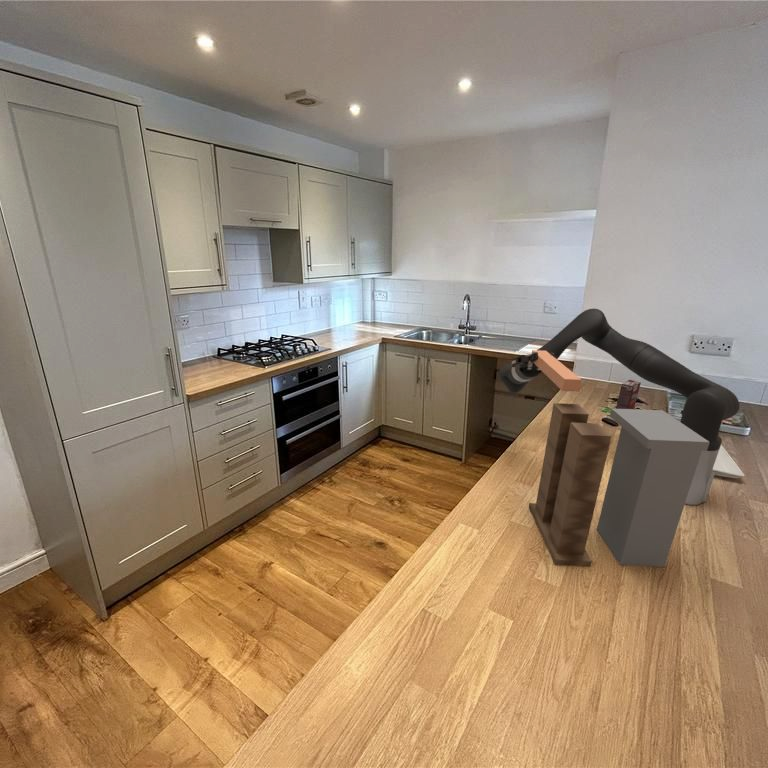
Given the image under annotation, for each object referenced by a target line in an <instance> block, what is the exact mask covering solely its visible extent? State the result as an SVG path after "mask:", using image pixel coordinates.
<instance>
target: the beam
mask: <svg viewBox="0 0 768 768" xmlns="http://www.w3.org/2000/svg"><path fill="white" fill-rule="evenodd" d="M534 352H538V360H536V361H535V362H533V363H534V364H535V365H536V366H537V367H538V368H539V369H540V370H541V373H543V374H544V375H546V376H547V378H548V379H550V381H552V382H553V383H554V384H555V385H556V387H557V388H559V389H560V391H561V392H580V391H581V385H582V381H583V380H582V378H580V377H579V376H578V375H577V374H576V373H574V372H573V371H572V370H570V369H569V368H568V367H567V366H565V365H564V364H563V363H562V362H561V361H560V360H558V359H556V358H554V357H553V356H552V355H550V354H549V353H548V352H547V351H541V350H538V349H535V350H534V349H533V350H531V354H533V353H534Z"/></svg>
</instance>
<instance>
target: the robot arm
mask: <svg viewBox="0 0 768 768" xmlns="http://www.w3.org/2000/svg"><path fill="white" fill-rule="evenodd" d="M580 338H582V340H584V342H587V343H588V344H590V345H591V346H594V347H596V348H598V349H600V350H601V351H604V352H605V353H607V354H608V355H610V356H611V357H613V358H614V359H615V360H616V361H618V363H620V364H621V365H622V366H624V367H625V368H627V370H628V371H630V372H632V373H634V374H636V376H638V377H640V379H641V378H642V380H644V381H647V382H650V383H652V384H654V385H658V386H660V387H663V388H666V389H669V390H671V391H674V392H676V393H678V394H680V395H681V396H683V397H685V399H686V400H685V402H684V405H683V409H682V413H681V417H680V421H679V422H681V423H682V424H684V425H685V426H687V427H688V428H690V429H691V430H693V431H694V432H696V433H697V434H698V435H700V436H701V437H703V438H704V439H706V440H707V441H709V442H710V443H709V446H708V449H707V451H702V452H701V455H700V458H699V461H698V464H697V467H696V470H695V474H694V477H693V480H692V483H691V486H690V489H689V492H688V495H687V498H686V502H685V505H690V506H691V505H692V506H697V505H700V504H701V503H706V501H707V498H708V495H709V492H710V490H711V487H712V483H713V481H714V477H715V476H716V475H715V474H714V472H712V470H713V467H714V464H715V461H716V458H717V455H718V452H719V449H720V446H721V445H722V442H723V441H722V438H721V437H720V435H719V432H720V429H721V426H722V422H723V421H725V420H728V419H730V418H732V417H734V416H736V415H737V414H738V412H739V411H740V407H741V406H740V400H739V398H738V396H737V395H736V394H735V393H733V392H732V391H731V390H730V389H728V388H727V387H724V386H722V385H720V384H718V383H716V382H714V381H712V380H710V379H708V378H706V377H703V376H701V375H700V374H698V373H696V372H695V371H692V370H691V369H690V368H688V367H686V366H684V364H681V363H680V362H679V361H677V360H675V359H674V358H672V357H671V356H669V355H668V354H666V353H664V352H663V351H661V350H659V349H658V348H656V347H654V346H653V345H651V344H650V343H647V342H645V341H642V340H639V339H633V338H629V337H626V336H625V335H623V334H621V333H620V332H618V331H617V330H616V329H614V328H613V327H612V326H611V325H610V324H609V322H608V320H607V317H606V316H605V313H604V312H603V311H602V310H601V309H598V308H589V309H585V310H584V311H582V312H581V313H579V314H578V315H577V316H575V318H574V319H572V320H571V322H569V323H568V324H567V325H566V326H565V327H564V328H562V330H560V331H559V332H558V333H557V334H556V335H554V336H553V337H552V338H551V339H550V340H549V341H547V343H545V344H544V345H542V346H541V347H539V348H538V349H537V350H541V351H547V352H548V353H549V354H550V355H552V356H553V357H554V358H556V359H557V360H558V359H559V358H560V356H562V354H563V353H564V352H565V351H566V350H567V349H568V348H569V346H571V344H573V343H574V342H575V341H577V340H578V339H580ZM536 360H538V352H534V353H533V354H532V353H529V354H522V355H519V356H515V357H513V358H511V363H508V364H505V365H503V366H502V367H500V369H499V371H498V378H499V379H500V381H501V382H502V383H503V385H504V386H505V387H506V389H507V390H508V392H510V393H511V394H517V393H520V392H521V391H522V390H523V389H524V388H525V387H526V386H527V385H528V383H529V382H530V381H531V380H533V379H535V378H536V377H538V376H539V375H540V374H541V373H542V371H541V370H540V369H539V368H538V367H537V366H536V365H535V364H534V363H533V362H535V361H536Z"/></svg>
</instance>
